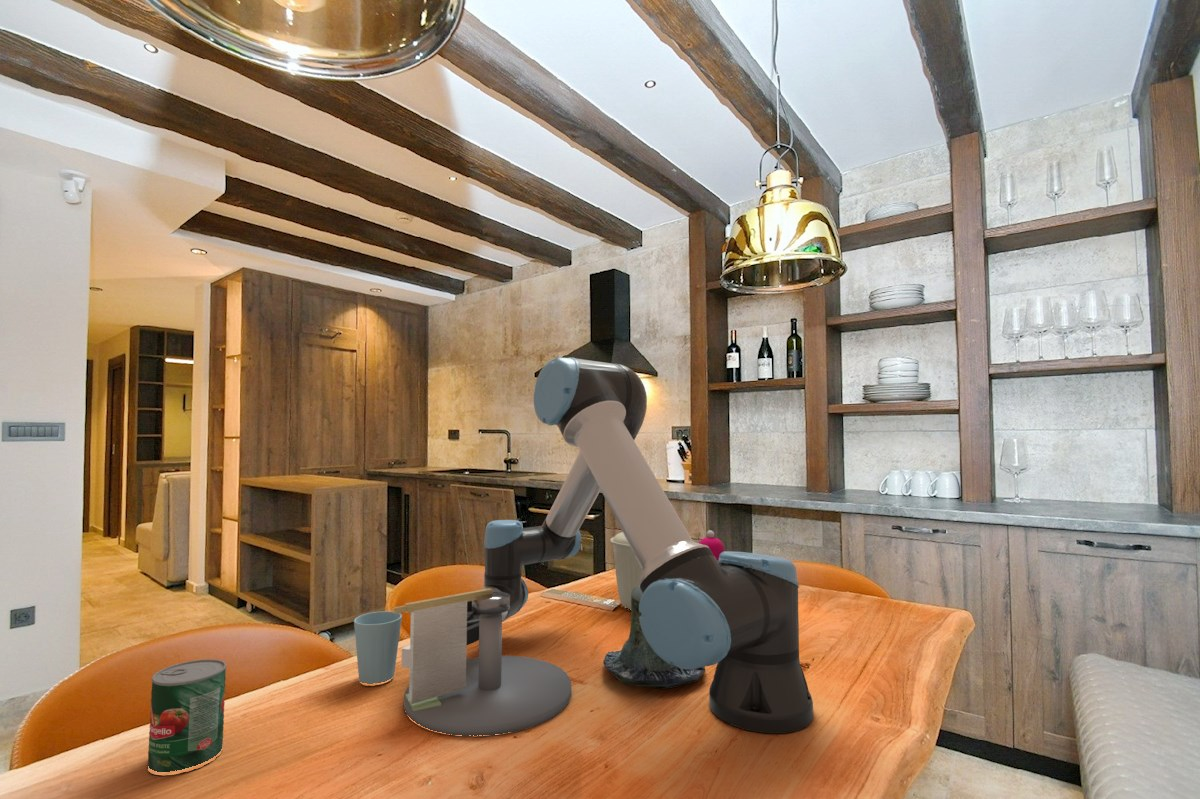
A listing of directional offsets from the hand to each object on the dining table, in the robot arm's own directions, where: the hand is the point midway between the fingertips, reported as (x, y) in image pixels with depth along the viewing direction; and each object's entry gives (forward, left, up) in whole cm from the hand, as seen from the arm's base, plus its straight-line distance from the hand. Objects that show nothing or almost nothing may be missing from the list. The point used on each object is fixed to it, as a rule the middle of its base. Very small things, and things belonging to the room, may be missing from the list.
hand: (406, 658), depth 85 cm
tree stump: (-1, -42, -9) cm, 43 cm away
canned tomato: (0, +27, -9) cm, 28 cm away
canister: (+34, -60, -9) cm, 70 cm away
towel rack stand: (0, -7, -6) cm, 9 cm away
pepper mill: (+20, -69, -9) cm, 73 cm away
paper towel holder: (+2, -13, -8) cm, 16 cm away
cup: (+16, +3, -9) cm, 19 cm away
